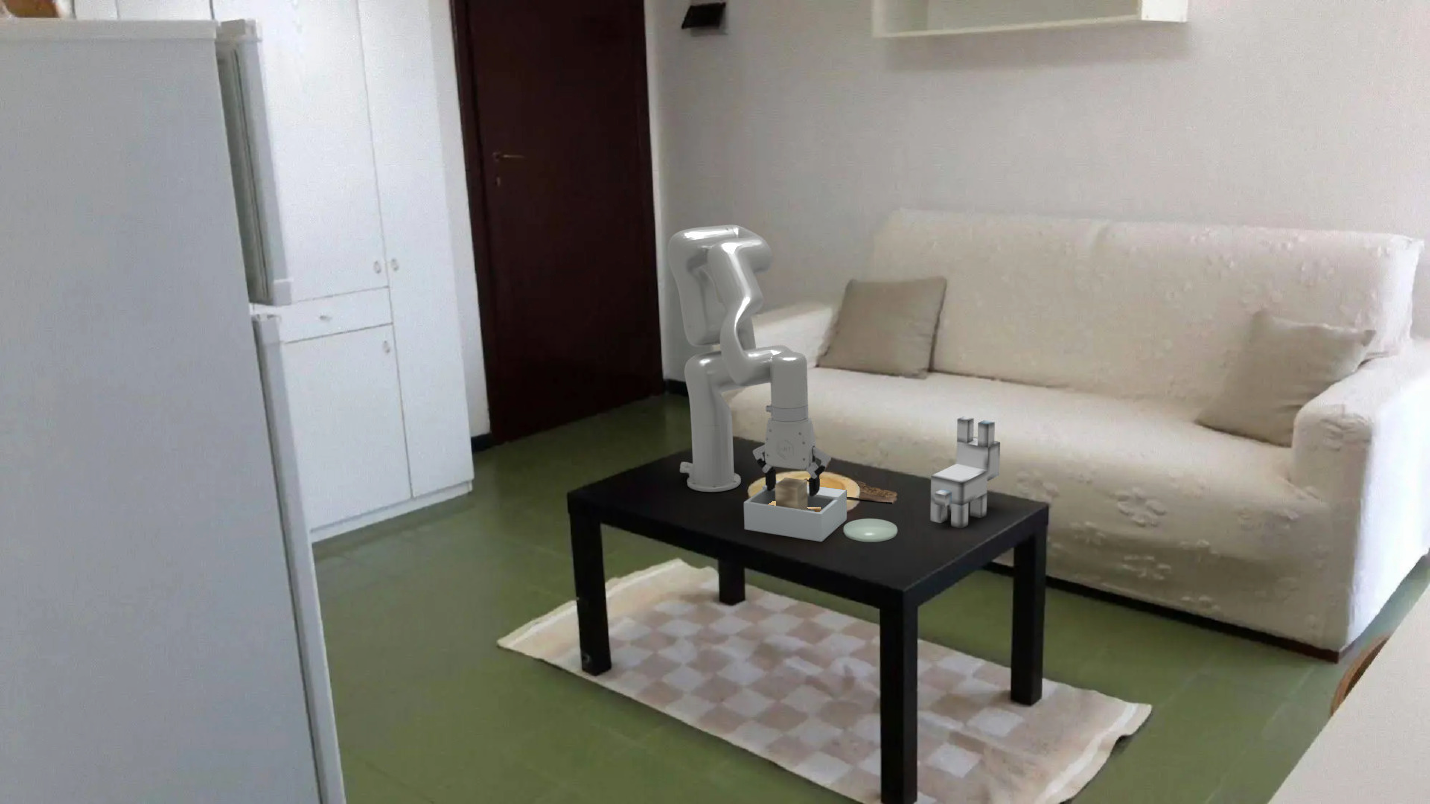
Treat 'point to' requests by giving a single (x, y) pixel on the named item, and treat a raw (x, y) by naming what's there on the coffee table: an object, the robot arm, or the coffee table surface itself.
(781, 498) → the maple block
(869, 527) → the sage saucer
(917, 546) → the coffee table surface
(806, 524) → the box
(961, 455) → the toy llama
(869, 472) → the coffee table surface
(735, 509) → the coffee table surface
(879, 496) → the wooden fragment
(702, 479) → the robot arm
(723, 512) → the coffee table surface
